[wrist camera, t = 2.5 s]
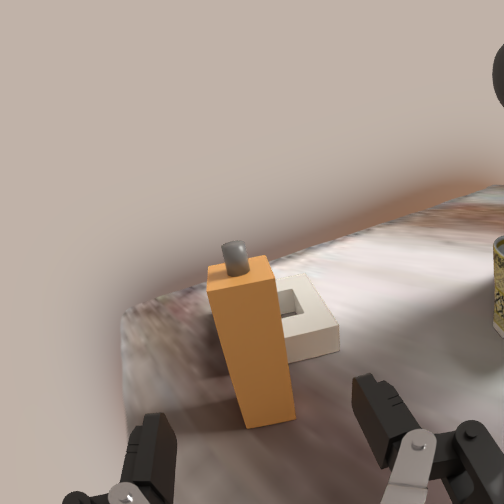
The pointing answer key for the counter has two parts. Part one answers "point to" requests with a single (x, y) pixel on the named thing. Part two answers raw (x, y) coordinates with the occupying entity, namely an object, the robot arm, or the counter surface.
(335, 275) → the counter surface
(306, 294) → the socket
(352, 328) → the counter surface
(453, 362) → the counter surface
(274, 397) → the plug
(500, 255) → the olive green flower pot
